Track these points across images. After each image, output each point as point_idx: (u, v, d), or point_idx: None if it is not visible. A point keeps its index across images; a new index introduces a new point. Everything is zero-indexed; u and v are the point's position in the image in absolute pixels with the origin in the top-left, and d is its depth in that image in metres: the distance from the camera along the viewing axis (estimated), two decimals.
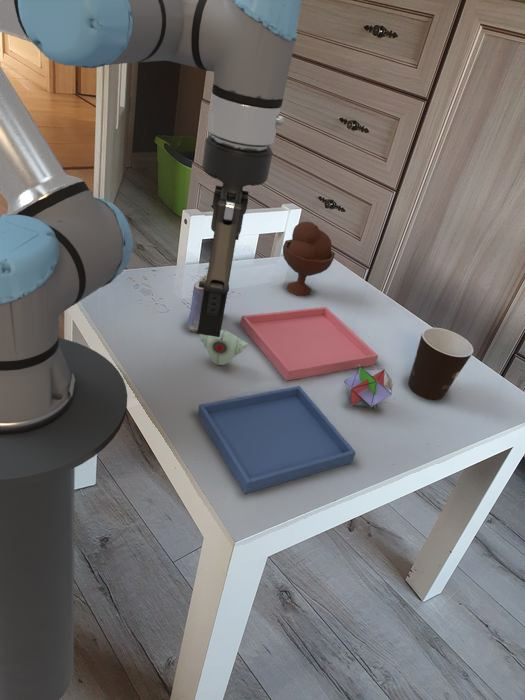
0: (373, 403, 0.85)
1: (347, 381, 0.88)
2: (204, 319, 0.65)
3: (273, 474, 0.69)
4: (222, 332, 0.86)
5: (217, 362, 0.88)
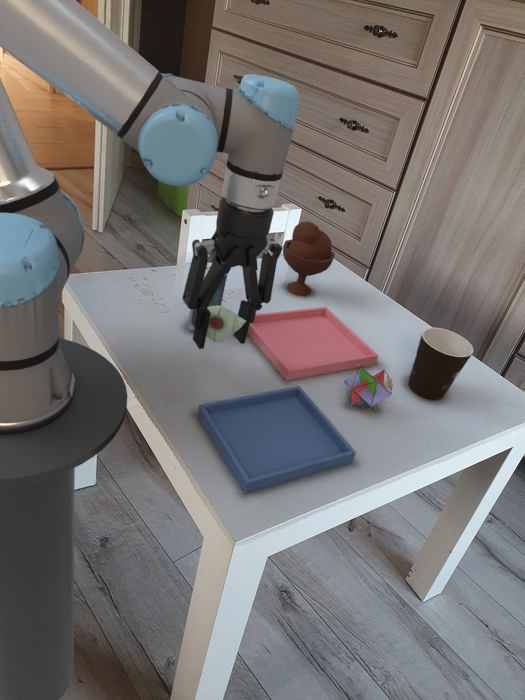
0: (373, 403, 0.85)
1: (347, 381, 0.88)
2: (196, 329, 0.84)
3: (273, 474, 0.69)
4: (219, 307, 0.83)
5: (214, 339, 0.85)
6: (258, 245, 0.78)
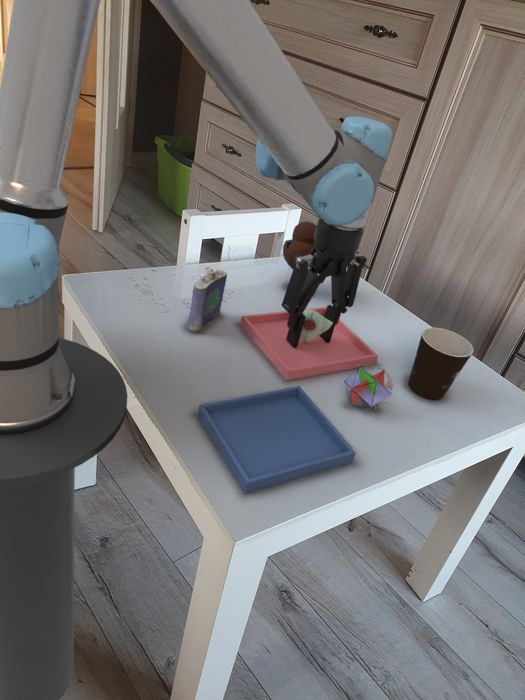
0: (373, 403, 0.85)
1: (347, 381, 0.88)
2: (290, 331, 0.97)
3: (273, 474, 0.69)
4: (311, 311, 0.96)
5: (305, 339, 0.98)
6: (348, 258, 0.91)
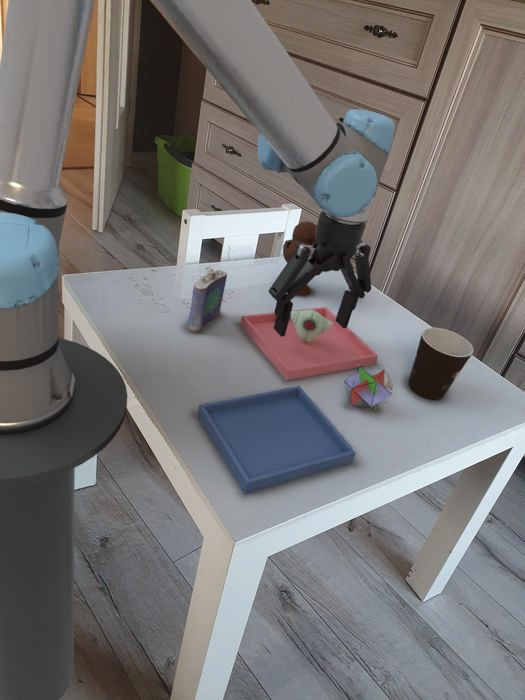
0: (373, 403, 0.85)
1: (347, 381, 0.88)
2: (277, 319, 0.94)
3: (273, 474, 0.69)
4: (312, 311, 0.96)
5: (305, 339, 0.98)
6: (349, 253, 0.91)
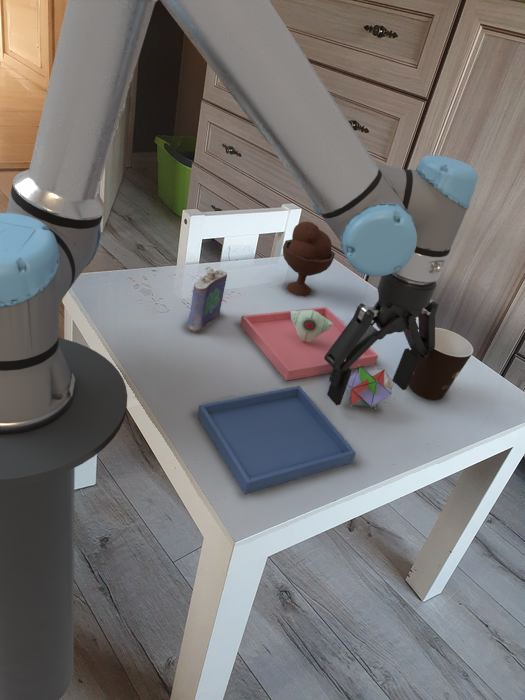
0: (373, 403, 0.85)
1: None
2: (332, 386, 0.83)
3: (273, 474, 0.69)
4: (312, 311, 0.96)
5: (305, 339, 0.98)
6: (415, 313, 0.80)
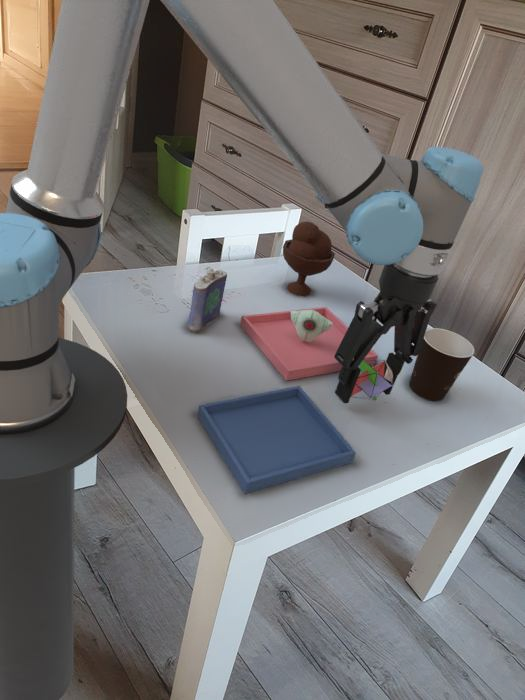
0: (373, 394, 0.84)
1: None
2: (340, 384, 0.85)
3: (273, 474, 0.69)
4: (312, 311, 0.96)
5: (305, 339, 0.98)
6: (416, 306, 0.79)
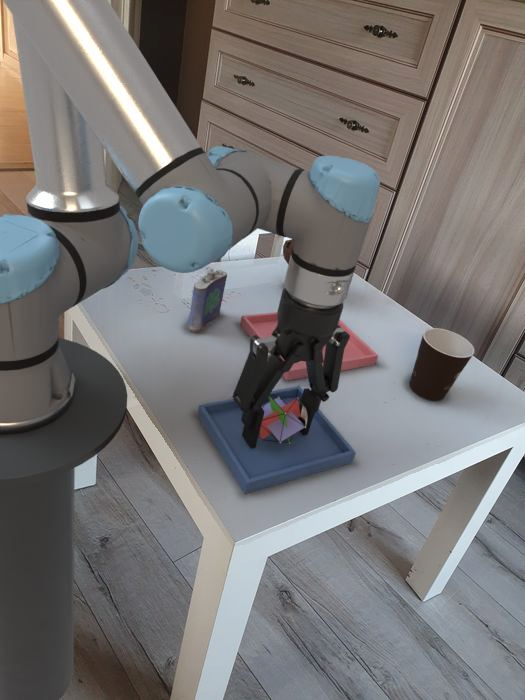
0: (283, 438, 0.73)
1: None
2: (246, 426, 0.74)
3: (273, 474, 0.69)
4: None
5: None
6: (323, 338, 0.69)
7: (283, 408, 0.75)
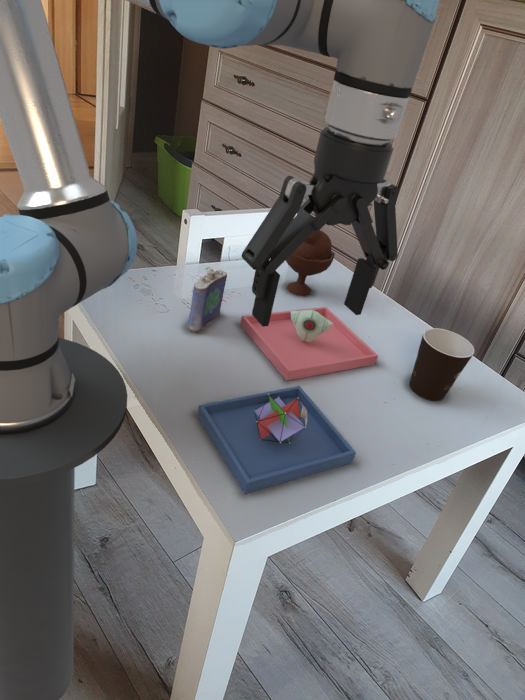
0: (283, 438, 0.73)
1: (257, 411, 0.77)
2: (257, 300, 0.62)
3: (273, 474, 0.69)
4: (312, 311, 0.96)
5: (305, 339, 0.98)
6: (367, 197, 0.59)
7: (283, 408, 0.75)
